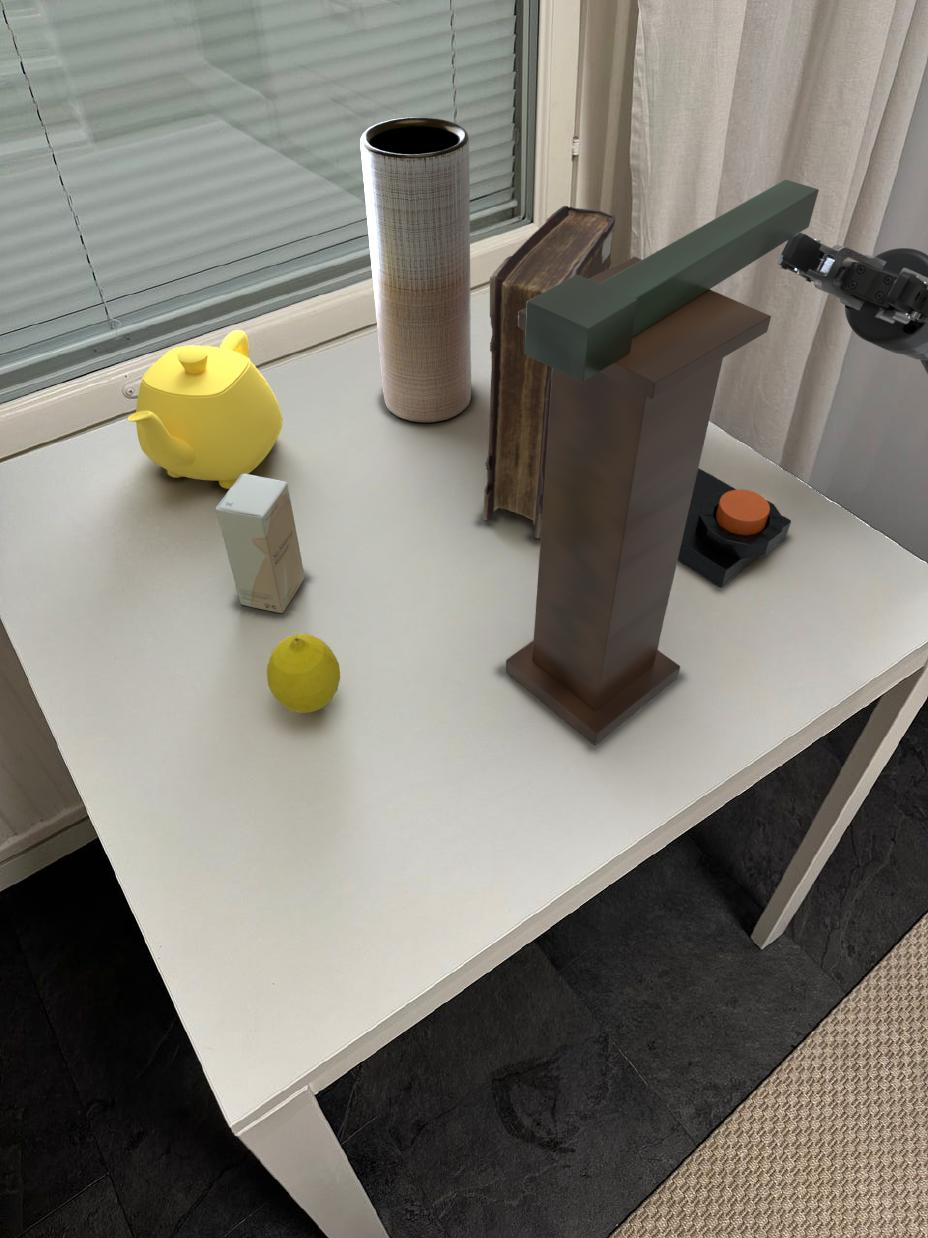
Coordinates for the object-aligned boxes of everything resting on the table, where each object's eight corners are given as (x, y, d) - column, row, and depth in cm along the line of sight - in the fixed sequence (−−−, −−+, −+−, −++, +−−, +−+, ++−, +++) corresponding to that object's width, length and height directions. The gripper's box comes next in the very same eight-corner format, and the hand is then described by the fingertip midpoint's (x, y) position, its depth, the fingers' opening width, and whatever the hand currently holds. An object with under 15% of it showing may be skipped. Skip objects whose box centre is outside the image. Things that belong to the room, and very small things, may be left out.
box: (283, 615, 78) (260, 519, 70) (238, 605, 79) (211, 509, 71) (307, 575, 82) (288, 479, 74) (264, 566, 83) (241, 470, 75)
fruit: (261, 708, 72) (242, 642, 66) (312, 667, 74) (297, 600, 68) (309, 745, 69) (293, 680, 63) (359, 701, 72) (348, 635, 66)
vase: (489, 395, 101) (491, 132, 81) (429, 435, 96) (416, 164, 76) (425, 365, 106) (412, 108, 86) (366, 401, 101) (337, 137, 81)
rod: (820, 231, 57) (834, 182, 55) (583, 382, 45) (588, 328, 43) (765, 213, 59) (776, 165, 57) (524, 354, 47) (526, 301, 45)
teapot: (106, 509, 89) (64, 402, 80) (207, 400, 101) (180, 297, 92) (226, 536, 86) (196, 428, 77) (314, 420, 98) (297, 316, 89)
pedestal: (677, 677, 73) (771, 315, 50) (594, 745, 69) (654, 382, 45) (588, 612, 78) (634, 256, 55) (505, 671, 74) (518, 311, 50)
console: (796, 544, 84) (807, 511, 81) (731, 595, 80) (741, 562, 77) (685, 479, 91) (692, 447, 88) (620, 523, 86) (625, 490, 83)
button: (775, 520, 81) (779, 505, 80) (745, 542, 79) (750, 527, 78) (735, 497, 83) (739, 482, 82) (705, 518, 81) (709, 503, 80)
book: (552, 431, 97) (570, 194, 78) (612, 451, 94) (645, 211, 76) (475, 520, 87) (475, 273, 68) (540, 544, 84) (557, 295, 66)
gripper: (856, 233, 78) (785, 182, 66) (1016, 291, 71) (970, 246, 58) (811, 317, 81) (735, 283, 69) (960, 381, 74) (905, 355, 61)
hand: (843, 266), depth 64 cm, fingers open, 8 cm apart
